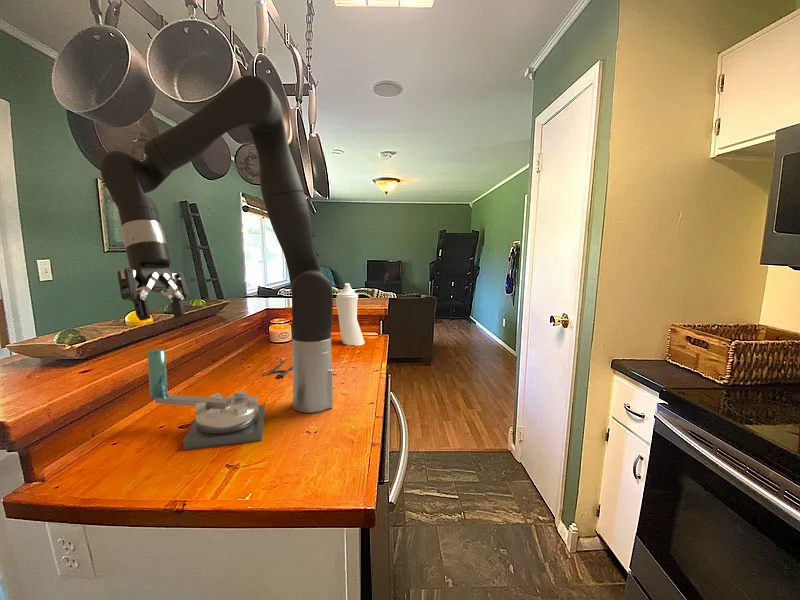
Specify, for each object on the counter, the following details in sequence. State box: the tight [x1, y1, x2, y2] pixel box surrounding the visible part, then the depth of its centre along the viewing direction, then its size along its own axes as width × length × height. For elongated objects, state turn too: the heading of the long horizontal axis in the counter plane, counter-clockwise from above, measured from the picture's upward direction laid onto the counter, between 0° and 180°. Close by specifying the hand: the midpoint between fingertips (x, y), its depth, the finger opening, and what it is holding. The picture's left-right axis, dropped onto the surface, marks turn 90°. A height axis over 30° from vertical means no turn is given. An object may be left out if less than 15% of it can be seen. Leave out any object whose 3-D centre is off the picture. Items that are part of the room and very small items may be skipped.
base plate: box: [182, 404, 266, 451], centre depth 79 cm, size 14×14×2 cm
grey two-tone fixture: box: [147, 348, 259, 434], centre depth 79 cm, size 24×12×14 cm, turn 82°
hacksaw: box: [262, 355, 293, 379], centre depth 123 cm, size 24×10×1 cm, turn 178°
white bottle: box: [335, 282, 365, 347], centre depth 155 cm, size 12×11×25 cm
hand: (163, 318), depth 79 cm, fingers open, 8 cm apart
